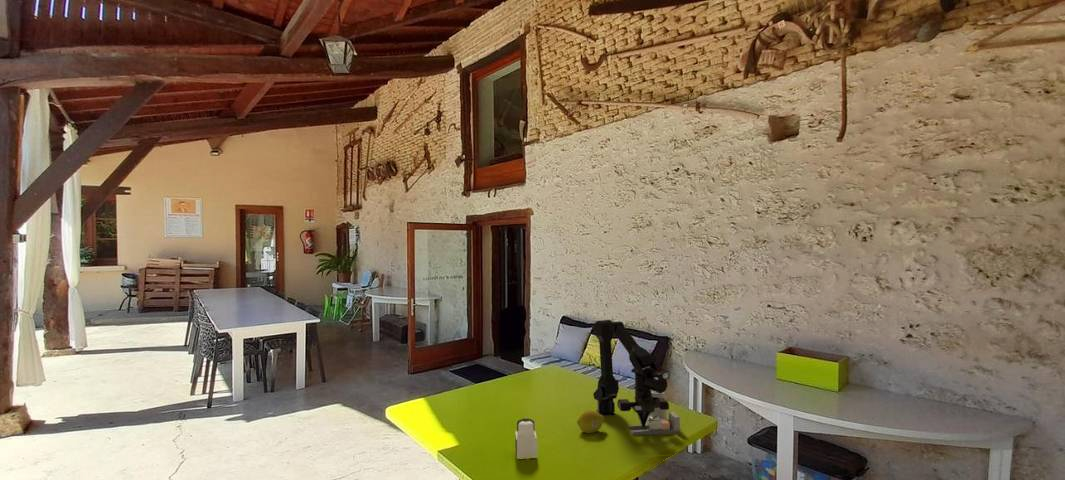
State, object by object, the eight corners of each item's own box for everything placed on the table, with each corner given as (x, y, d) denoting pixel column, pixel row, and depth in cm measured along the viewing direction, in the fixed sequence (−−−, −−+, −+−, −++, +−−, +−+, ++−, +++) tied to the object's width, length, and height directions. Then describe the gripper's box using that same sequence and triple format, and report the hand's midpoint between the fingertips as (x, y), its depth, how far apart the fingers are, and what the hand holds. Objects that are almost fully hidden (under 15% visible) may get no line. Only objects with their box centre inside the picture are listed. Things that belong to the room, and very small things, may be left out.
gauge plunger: (649, 433, 180) (649, 419, 180) (645, 428, 185) (645, 415, 185) (662, 432, 181) (661, 418, 181) (658, 428, 185) (658, 414, 185)
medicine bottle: (515, 451, 168) (514, 417, 168) (535, 450, 168) (535, 416, 168) (516, 460, 161) (515, 424, 161) (537, 459, 161) (536, 423, 161)
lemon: (578, 436, 179) (577, 415, 179) (575, 428, 187) (575, 408, 187) (606, 435, 180) (606, 414, 180) (603, 427, 187) (602, 407, 187)
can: (667, 424, 189) (667, 394, 190) (648, 423, 191) (647, 393, 191) (666, 417, 197) (665, 388, 197) (647, 416, 198) (647, 387, 198)
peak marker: (662, 432, 181) (661, 423, 181) (658, 428, 185) (658, 419, 185) (669, 432, 181) (669, 423, 181) (666, 428, 185) (665, 419, 185)
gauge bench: (633, 436, 179) (633, 419, 179) (628, 429, 185) (628, 413, 185) (679, 433, 180) (679, 417, 180) (673, 427, 186) (673, 411, 186)
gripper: (624, 393, 174) (624, 436, 174) (674, 391, 175) (674, 434, 175) (616, 384, 185) (617, 424, 185) (663, 382, 186) (664, 422, 186)
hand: (643, 426), depth 182 cm, fingers closed
